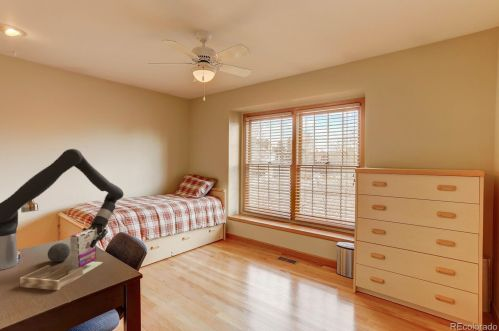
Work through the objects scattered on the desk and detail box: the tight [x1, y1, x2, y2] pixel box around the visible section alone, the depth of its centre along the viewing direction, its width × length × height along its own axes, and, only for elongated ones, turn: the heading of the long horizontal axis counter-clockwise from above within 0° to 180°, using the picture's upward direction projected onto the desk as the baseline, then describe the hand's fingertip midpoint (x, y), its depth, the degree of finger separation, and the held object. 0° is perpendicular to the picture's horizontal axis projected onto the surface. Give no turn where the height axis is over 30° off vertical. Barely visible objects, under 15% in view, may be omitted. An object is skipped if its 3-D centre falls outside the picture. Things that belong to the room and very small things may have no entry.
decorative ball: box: [47, 242, 71, 263], centre depth 143 cm, size 10×10×10 cm
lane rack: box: [19, 264, 84, 291], centre depth 121 cm, size 19×14×4 cm
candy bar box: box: [69, 229, 97, 269], centre depth 134 cm, size 11×5×16 cm, turn 168°
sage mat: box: [66, 261, 104, 275], centre depth 135 cm, size 9×14×1 cm, turn 172°
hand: (86, 246), depth 135 cm, fingers closed on candy bar box, 5 cm apart
